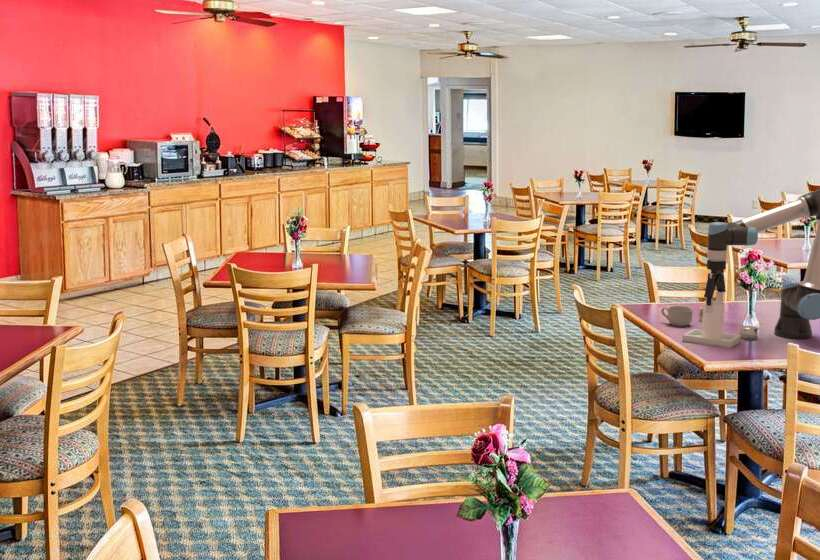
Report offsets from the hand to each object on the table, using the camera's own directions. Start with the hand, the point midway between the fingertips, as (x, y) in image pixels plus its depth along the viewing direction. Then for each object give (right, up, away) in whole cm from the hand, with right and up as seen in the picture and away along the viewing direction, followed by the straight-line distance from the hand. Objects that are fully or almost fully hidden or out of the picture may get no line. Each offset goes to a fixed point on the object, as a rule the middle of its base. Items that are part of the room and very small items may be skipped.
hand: (714, 310), depth 389 cm
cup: (0, -13, +2) cm, 13 cm away
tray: (0, -13, +2) cm, 14 cm away
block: (+10, -6, +42) cm, 44 cm away
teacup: (-6, -8, +34) cm, 35 cm away
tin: (+17, -12, +8) cm, 23 cm away
